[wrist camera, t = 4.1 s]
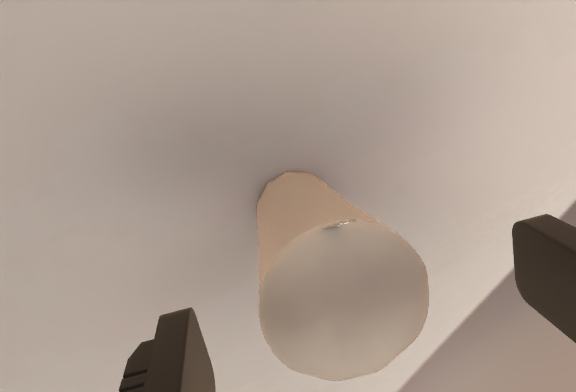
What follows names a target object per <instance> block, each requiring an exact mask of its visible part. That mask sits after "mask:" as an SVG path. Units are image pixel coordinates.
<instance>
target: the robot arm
mask: <svg viewBox="0 0 576 392" xmlns="http://www.w3.org/2000/svg"><path fill="white" fill-rule="evenodd" d="M512 238H513V253H514V268H515V280H516V284H517V287H518V290H519V292H520V294H521V296H522V297H523V299H524V300H525V301H526V302H527V303H528V304H529V305H530V306H531V307H533V308H534V309H535V310H536V311H538V312H539V313H540V314H541V315H542V316H543V317H545V318H546V319H547V320H548V321H550V322H551V323H552V324H553V325H554V326H556V327H557V328H558V329H559V330H561V331H562V332H563V333H564V334H565V335H567V336H568V337H569V338H570V339H572V340H573V341H574V342H575V343H576V227H573V226H571V225H569V224H567V223H565V222H563V221H561V220H559V219H557V218H555V217H553V216H551V215H549V214H544V215H541V216H537V217H533V218H529V219H525V220H522V221H518V222H516V223H515V224H514V225H513V229H512ZM123 378H124V379H122V381H121V385H120V388H119V392H215V379H214V373H213V368H212V364H211V361H210V358H209V354H208V351H207V348H206V345H205V342H204V339H203V336H202V333H201V330H200V327H199V324H198V321H197V318H196V315H195V312H194V310H193V309H192V308H187V309H183V310H179V311H175V312H172V313H168V314H164V315H161V316H160V317H159V320H158V325H157V329H156V334H155V338H154V339H153V340H149V341H145V342H142V343H141V344H140V345H139V346H138V347H137V349H136V350H135V351H134V352H133V354H132V355H131V356H130V357H129V359H128V361H127V364H126V368H125V371H124V375H123Z"/></svg>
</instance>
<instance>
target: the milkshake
mask: <svg viewBox="0 0 576 392" xmlns="http://www.w3.org/2000/svg"><path fill="white" fill-rule="evenodd" d="M256 210H257V228H258V246H259V318H260V323H261V327H262V331H263V334H264V337H265V339H266V341H267V343H268V345H269V347H270V348H271V350H272V351H273V353H274V354H275V355H276V357H277V358H278V359H279V360H280V361H281V362H282V363H283V364H285V365H286V366H287V367H289V368H291V369H293V370H295V371H297V372H300V373H303V374H307V375H311V376H314V377H318V378H321V379H325V380H331V381H342V380H347V379H351V378H355V377H359V376H363V375H368V374H372V373H375V372H377V371H379V370H381V369H382V368H384V367H385V366H387V365H388V364H389V363H390V362H391V361H393V360H394V359H395V358H396V357H397V356H398V355H399V354H400V353H401V352H402V351H404V350H405V349H406V348H407V347H408V346H409V345H410V344H411V343H412V342H413V341H414V340H415V339H416V338H417V336H418V335H419V333H420V332H421V330H422V328H423V325H424V323H425V320H426V317H427V313H428V306H429V287H428V277H427V272H426V268H425V265H424V263H423V261H422V259H421V258H420V256H419V255H418V253H417V252H416V251H415V250H414V249H413V247H412V246H411V245H410V244H409V243H408V242H406V241H405V240H404V239H403V238H402V237H401V236H399V235H398V234H397V233H395V232H394V231H392V230H391V229H389V228H388V227H386V226H385V225H383V224H382V223H380V222H379V221H377V220H376V219H374V218H373V217H371V216H370V215H368V214H367V213H365V212H364V211H362V210H361V209H359V208H357V207H356V206H354V205H353V204H351V203H350V202H348V201H347V200H346V199H344V198H343V197H342V196H340V195H339V194H338V193H337V192H335V191H334V190H333V189H331V188H330V187H329V186H328V185H326V184H325V183H324V182H322V181H321V180H320V179H319V178H317V177H316V176H315V175H313V174H312V173H300V172H286V173H284V174H282V175H281V176H279V177H277V178H276V179H274V180H272V181H270V182H269V183H267V184H266V186H265V188H264V190H263V193H262V195H261V197H260V199H259V201H258V203H257V206H256Z"/></svg>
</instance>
